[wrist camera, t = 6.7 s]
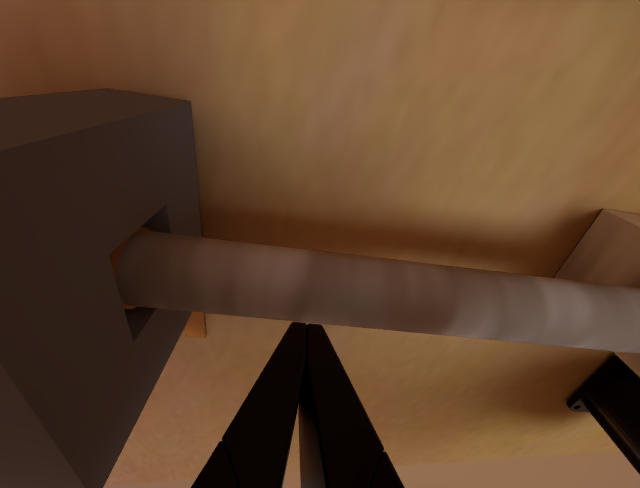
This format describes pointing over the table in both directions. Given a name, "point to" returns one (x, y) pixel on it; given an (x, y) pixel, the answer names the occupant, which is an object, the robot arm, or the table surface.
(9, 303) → the square block with hole
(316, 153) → the table surface
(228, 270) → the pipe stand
